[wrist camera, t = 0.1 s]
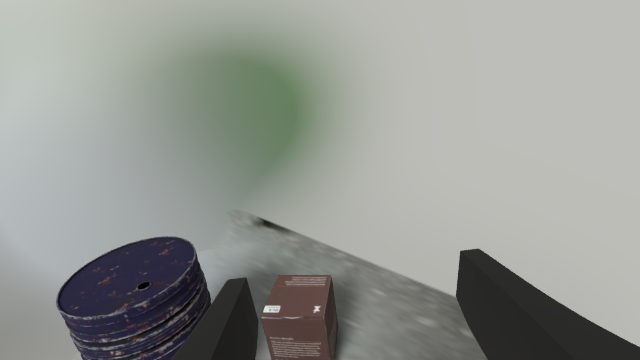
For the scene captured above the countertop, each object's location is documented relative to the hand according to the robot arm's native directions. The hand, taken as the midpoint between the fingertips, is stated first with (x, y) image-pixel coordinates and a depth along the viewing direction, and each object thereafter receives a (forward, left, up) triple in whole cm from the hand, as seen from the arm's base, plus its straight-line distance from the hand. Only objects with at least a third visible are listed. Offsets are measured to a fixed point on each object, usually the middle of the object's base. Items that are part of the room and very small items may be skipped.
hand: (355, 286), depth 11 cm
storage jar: (+13, +16, -22) cm, 30 cm away
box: (+17, +4, -22) cm, 28 cm away
